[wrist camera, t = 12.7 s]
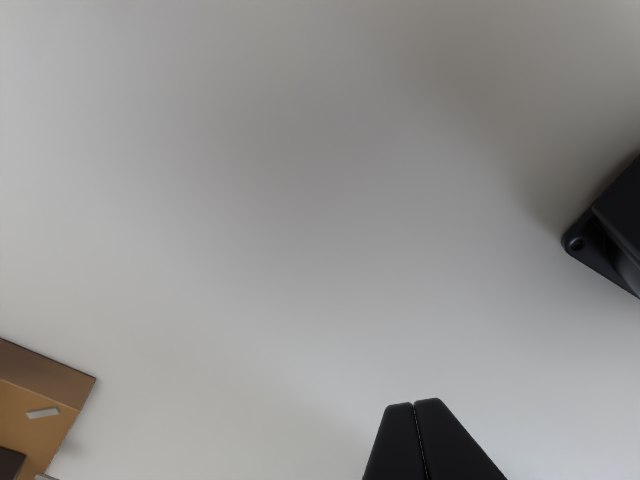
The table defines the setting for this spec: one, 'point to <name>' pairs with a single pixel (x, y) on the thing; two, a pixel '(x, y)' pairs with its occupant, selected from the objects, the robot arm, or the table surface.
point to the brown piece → (37, 406)
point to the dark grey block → (10, 464)
